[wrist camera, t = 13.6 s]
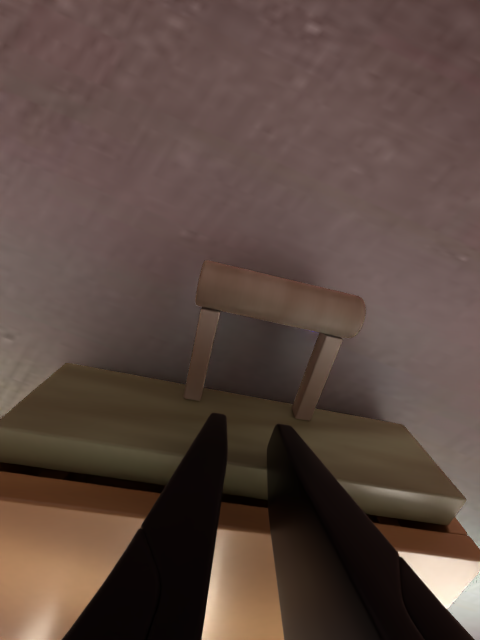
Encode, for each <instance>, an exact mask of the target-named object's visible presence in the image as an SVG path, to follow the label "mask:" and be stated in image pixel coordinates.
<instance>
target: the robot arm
mask: <svg viewBox="0 0 480 640" xmlns="http://www.w3.org/2000/svg"><path fill="white" fill-rule="evenodd" d="M227 458H228V437H227V417H226V415H225V414H220V413H211V414H210V416H209V417H208V419H207V420H206V422H205V424H204V425H203V427H202V428H201V430H200V432H199V433H198V435H197V436H196V438H195V440H194V441H193V443H192V444H191V446H190V448H189V449H188V451H187V452H186V454H185V456H184V457H183V459H182V460H181V462H180V464H179V465H178V467H177V468H176V470H175V472H174V473H173V475H172V477H171V478H170V480H169V481H168V483H167V485H166V486H165V488H164V489H163V491H162V493H161V494H160V496H159V497H158V499H157V501H156V502H155V504H154V505H153V507H152V509H151V510H150V512H149V513H148V515H147V517H146V518H145V520H144V521H143V523H142V525H141V528H140V529H138V530H137V532H136V534H135V535H134V537H133V538H132V540H131V542H130V543H129V545H128V546H127V548H126V550H125V551H124V553H123V554H122V556H121V557H120V559H119V560H118V562H117V563H116V565H115V566H114V568H113V569H112V571H111V572H110V574H109V575H108V577H107V578H106V580H105V581H104V583H103V584H102V586H101V587H100V588H99V590H98V591H97V592H96V594H95V595H94V597H93V598H92V599H91V601H90V602H89V603H88V605H87V606H86V607H85V609H84V610H83V612H82V613H81V614H80V616H79V617H78V618H77V620H76V621H75V623H74V624H73V625H72V627H71V628H70V629H69V630H68V632H67V633H66V634H65V636H64V637H63V638H62V640H202V634H203V627H204V620H205V613H206V606H207V599H208V592H209V585H210V578H211V571H212V564H213V557H214V550H215V543H216V536H217V529H218V522H219V515H220V508H221V501H222V494H223V487H224V480H225V473H226V466H227ZM267 487H268V514H269V524H270V532H271V540H272V548H273V556H274V564H275V571H276V579H277V587H278V595H279V603H280V611H281V619H282V627H283V635H284V640H474V639H473V637H472V636H471V635H470V634H469V633H468V632H467V631H466V630H465V629H464V628H463V626H462V625H461V624H460V623H459V622H458V621H457V620H456V619H455V618H454V617H453V616H452V614H451V613H450V612H449V611H448V610H447V609H446V608H445V607H444V605H443V604H442V603H441V602H440V601H439V600H438V598H437V597H436V596H435V595H434V594H433V593H432V592H431V590H430V589H429V588H428V587H427V586H426V585H425V583H424V582H423V581H422V580H421V579H420V578H419V577H418V575H417V574H416V573H415V572H414V571H413V569H412V568H411V567H410V566H409V565H408V563H407V562H406V561H405V560H404V559H403V558H402V557H399V554H398V552H397V551H396V549H395V548H394V547H393V546H392V545H391V543H390V542H389V541H388V540H387V539H386V538H385V536H384V535H383V534H382V533H381V532H380V530H379V529H378V528H377V527H376V526H375V524H374V523H373V522H372V521H371V520H370V519H369V517H368V516H367V515H366V514H365V513H364V511H363V510H362V509H361V508H360V507H359V505H358V504H357V503H356V502H355V501H354V500H353V498H352V497H351V496H350V495H349V494H348V492H347V491H346V490H345V489H344V488H343V486H342V485H341V484H340V483H339V482H338V481H337V479H336V478H335V477H334V476H333V475H332V473H331V472H330V471H329V470H328V469H327V467H326V466H325V465H324V464H323V463H322V461H321V460H320V459H319V458H318V457H317V456H316V454H315V453H314V452H313V451H312V450H311V448H310V447H309V446H308V445H307V444H306V442H305V441H304V440H303V439H302V438H301V437H300V435H299V434H298V433H297V432H296V431H295V429H294V428H293V427H292V426H290V425H286V424H280V423H278V424H276V425H275V427H274V429H273V432H272V435H271V437H270V440H269V443H268V446H267Z"/></svg>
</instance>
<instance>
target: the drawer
mask: <svg viewBox="0 0 480 640" xmlns="http://www.w3.org/2000/svg"><path fill="white" fill-rule="evenodd" d="M195 303H196V305H197V306H200V307H201V311H200V316H199V321H198V325H197V330H196V335H195V340H194V345H193V350H192V355H191V360H190V365H189V370H188V375H187V380H186V384H181V383H176V382H170V381H165V380H159V379H154V378H148V377H143V376H138V375H132V374H127V373H121V372H116V371H111V370H105V369H100V368H94V367H89V366H83V365H78V364H73V363H65V364H64V365H63V366H62V367H60V368H59V369H58V370H57V371H56V372H54V373H53V374H52V375H51V376H50V377H49V378H47V379H46V380H45V381H44V382H43V383H42V384H40V385H39V386H38V387H37V388H36V389H35V390H33V391H32V392H31V393H30V394H29V395H28V396H26V397H25V398H24V399H23V400H22V401H21V402H19V403H18V404H17V405H16V406H15V407H14V408H12V409H11V410H10V411H9V412H8V413H7V414H5V415H4V416H3V417H2V418H1V419H0V462H2V463H9V464H16V465H24V466H31V467H38V468H44V469H43V470H42V471H41V473H40V474H39V475H38V476H40V477H47V478H54V479H62V480H69V481H76V482H83V483H91V484H98V485H105V486H112V487H119V488H127V489H134V490H141V491H148V492H156V493H162V491H163V489H164V488H165V486H166V485H167V483H168V481H169V480H170V478H171V477H172V475H173V473H174V472H175V470H176V468H177V467H178V465H179V464H180V462H181V460H182V459H183V457H184V456H185V454H186V452H187V451H188V449H189V448H190V446H191V444H192V443H193V441H194V440H195V438H196V436H197V435H198V433H199V432H200V430H201V428H202V427H203V425H204V424H205V422H206V420H207V419H208V417H209V416H210V414H211V413H220V414H225V415H226V417H227V437H228V458H227V466H226V473H225V480H224V487H223V494H222V501H221V502H228V503H235V504H242V505H249V506H257V507H264V508H268V487H267V446H268V443H269V440H270V437H271V435H272V432H273V429H274V427H275V425H276V424H278V423H280V424H286V425H290V426H292V427H293V428H294V429H295V431H296V432H297V433H298V434H299V435H300V437H301V438H302V439H303V440H304V441H305V442H306V444H307V445H308V446H309V447H310V448H311V450H312V451H313V452H314V453H315V454H316V456H317V457H318V458H319V459H320V460H321V461H322V463H323V464H324V465H325V466H326V467H327V469H328V470H329V471H330V472H331V473H332V475H333V476H334V477H335V478H336V479H337V481H338V482H339V483H340V484H341V485H342V486H343V488H344V489H345V490H346V491H347V492H348V494H349V495H350V496H351V497H352V498H353V500H354V501H355V502H356V503H357V504H358V505H359V507H360V508H361V509H362V510H363V511H364V513H365V514H366V515H367V516H368V517H369V519H370V520H371V521H372V522H373V523H379V524H387V525H394V526H400V525H399V523H398V521H397V519H404V520H411V521H418V522H425V523H432V524H439V525H446V526H447V525H449V524H450V523H451V521H452V520H453V518H454V517H455V516H456V514H457V513H458V512H459V510H460V509H461V508H462V506H463V505H464V504H465V502H466V498H465V497H464V496H463V494H462V493H461V492H460V491H459V490H458V489H457V487H456V486H455V485H454V484H453V483H452V481H451V480H450V479H449V478H448V477H447V476H446V474H445V473H444V472H443V471H442V470H441V468H440V467H439V466H438V465H437V464H436V463H435V461H434V460H433V459H432V458H431V457H430V456H429V454H428V453H427V452H426V451H425V450H424V448H423V447H422V446H421V445H420V444H419V443H418V441H417V440H416V439H415V438H414V437H413V436H412V434H411V433H410V432H409V431H408V430H407V428H406V427H405V426H404V425H402V424H398V423H392V422H387V421H381V420H376V419H370V418H365V417H360V416H354V415H349V414H343V413H338V412H333V411H327V410H322V409H316V405H317V403H318V400H319V398H320V395H321V393H322V390H323V388H324V385H325V383H326V380H327V378H328V375H329V373H330V370H331V368H332V366H333V363H334V361H335V358H336V356H337V353H338V351H339V348H340V346H341V343H342V338H352V337H354V336H355V335H356V334H357V333H358V332H359V331H360V329H361V327H362V325H363V323H364V319H365V314H366V307H365V303H364V300H363V299H362V298H361V297H359V296H357V295H352V294H348V293H344V292H340V291H336V290H331V289H327V288H323V287H319V286H315V285H310V284H306V283H302V282H298V281H294V280H289V279H285V278H281V277H277V276H273V275H268V274H264V273H260V272H256V271H252V270H247V269H243V268H239V267H235V266H231V265H226V264H222V263H218V262H214V261H210V260H205V261H204V263H203V265H202V268H201V272H200V276H199V281H198V286H197V291H196V298H195ZM220 311H223V312H228V313H232V314H237V315H241V316H246V317H251V318H255V319H260V320H264V321H269V322H274V323H278V324H283V325H287V326H292V327H297V328H301V329H306V330H310V331H315V332H319V335H318V338H317V340H316V343H315V346H314V349H313V351H312V354H311V357H310V359H309V362H308V365H307V368H306V370H305V373H304V376H303V378H302V381H301V384H300V387H299V389H298V392H297V395H296V397H295V400H294V403H293V404H289V403H284V402H278V401H273V400H268V399H262V398H257V397H251V396H246V395H241V394H235V393H230V392H224V391H219V390H213V389H208V388H203V387H204V382H205V378H206V374H207V369H208V365H209V361H210V356H211V352H212V347H213V343H214V339H215V334H216V330H217V325H218V321H219V317H220ZM341 337H342V338H341ZM396 518H397V519H396Z"/></svg>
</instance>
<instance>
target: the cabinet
mask: <svg viewBox="0 0 480 640" xmlns="http://www.w3.org/2000/svg"><path fill="white" fill-rule="evenodd" d="M43 469H44V468H38V467H31V466H24V465H16V464H9V463H2V462H0V640H62V638H63V637H64V636H65V634H66V633H67V632H68V630H69V629H70V628H71V627H72V625H73V624H74V623H75V621H76V620H77V618H78V617H79V616H80V614H81V613H82V612H83V610H84V609H85V607H86V606H87V605H88V603H89V602H90V601H91V599H92V598H93V597H94V595H95V594H96V592H97V591H98V590H99V588H100V587H101V586H102V584H103V583H104V581H105V580H106V578H107V577H108V575H109V574H110V572H111V571H112V569H113V568H114V566H115V565H116V563H117V562H118V560H119V559H120V557H121V556H122V554H123V553H124V551H125V550H126V548H127V546H128V545H129V543H130V542H131V540H132V538H133V537H134V535H135V534H136V532H137V530H138V529H140V528H141V525H142V523H143V521H144V520H145V518H146V517H147V515H148V513H149V512H150V510H151V509H152V507H153V505H154V504H155V502H156V501H157V499H158V497H159V496H160V494H161V493H156V492H148V491H141V490H134V489H127V488H119V487H112V486H105V485H98V484H91V483H83V482H76V481H69V480H62V479H54V478H47V477H40V476H38V475H39V474H40V473H41V471H42V470H43ZM396 519H397V518H396ZM397 521H398V523H399V525H400V526H394V525H387V524H379V523H374V524H375V526H376V527H377V528H378V529H379V530H380V532H381V533H382V534H383V535H384V536H385V538H386V539H387V540H388V541H389V542H390V543H391V545H392V546H393V547H394V548H395V549H396V551H397V552H398V554H399V557H402V558H403V559H404V560H405V561H406V562H407V563H408V565H409V566H410V567H411V568H412V569H413V571H414V572H415V573H416V574H417V575H418V577H419V578H420V579H421V580H422V581H423V582H424V583H425V585H426V586H427V587H428V588H429V589H430V590H431V592H432V593H433V594H434V595H435V596H436V597H437V598H438V600H439V601H440V602H441V603H442V604H443V605H444V607H445V608H446V609H448V608H449V606H450V605H451V604H452V603H453V602H454V601H455V600H456V598H457V597H458V596H459V595H460V594H461V593H462V591H463V590H464V589H465V588H466V587H467V586H468V584H469V583H470V582H471V581H472V580H473V579H474V578H475V576H476V575H477V574H478V573H479V572H480V549H479V548H478V546H477V545H476V544H475V543H474V541H473V540H472V539H471V538H470V537H469V536H467V532H466V531H465V529H464V528H463V527H462V525H461V524H460V523H459V522H458V520H457V519H456V518H455V517H454V518H453V520H452V521H451V523H450V524H449V525H447V526H446V525H439V524H432V523H425V522H418V521H411V520H404V519H397ZM202 640H284V635H283V627H282V619H281V611H280V603H279V595H278V587H277V579H276V571H275V564H274V556H273V548H272V540H271V532H270V524H269V514H268V508H264V507H257V506H249V505H242V504H235V503H228V502H221V508H220V515H219V522H218V529H217V536H216V543H215V550H214V557H213V564H212V571H211V578H210V585H209V592H208V599H207V606H206V613H205V620H204V627H203V634H202Z"/></svg>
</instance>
